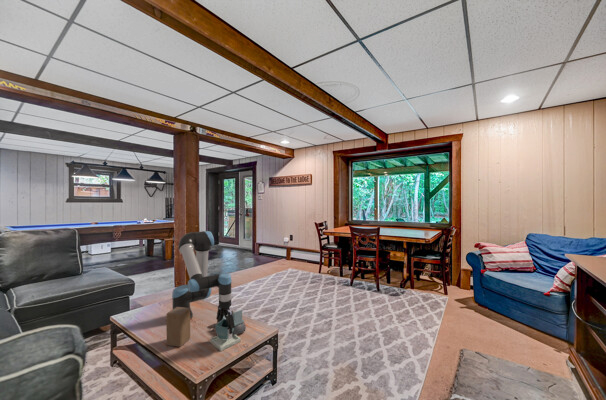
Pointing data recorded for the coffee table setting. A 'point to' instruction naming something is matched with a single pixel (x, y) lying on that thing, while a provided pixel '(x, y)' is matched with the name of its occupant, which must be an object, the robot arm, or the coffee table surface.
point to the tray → (224, 342)
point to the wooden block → (178, 326)
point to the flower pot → (223, 329)
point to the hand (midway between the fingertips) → (225, 334)
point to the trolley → (238, 323)
